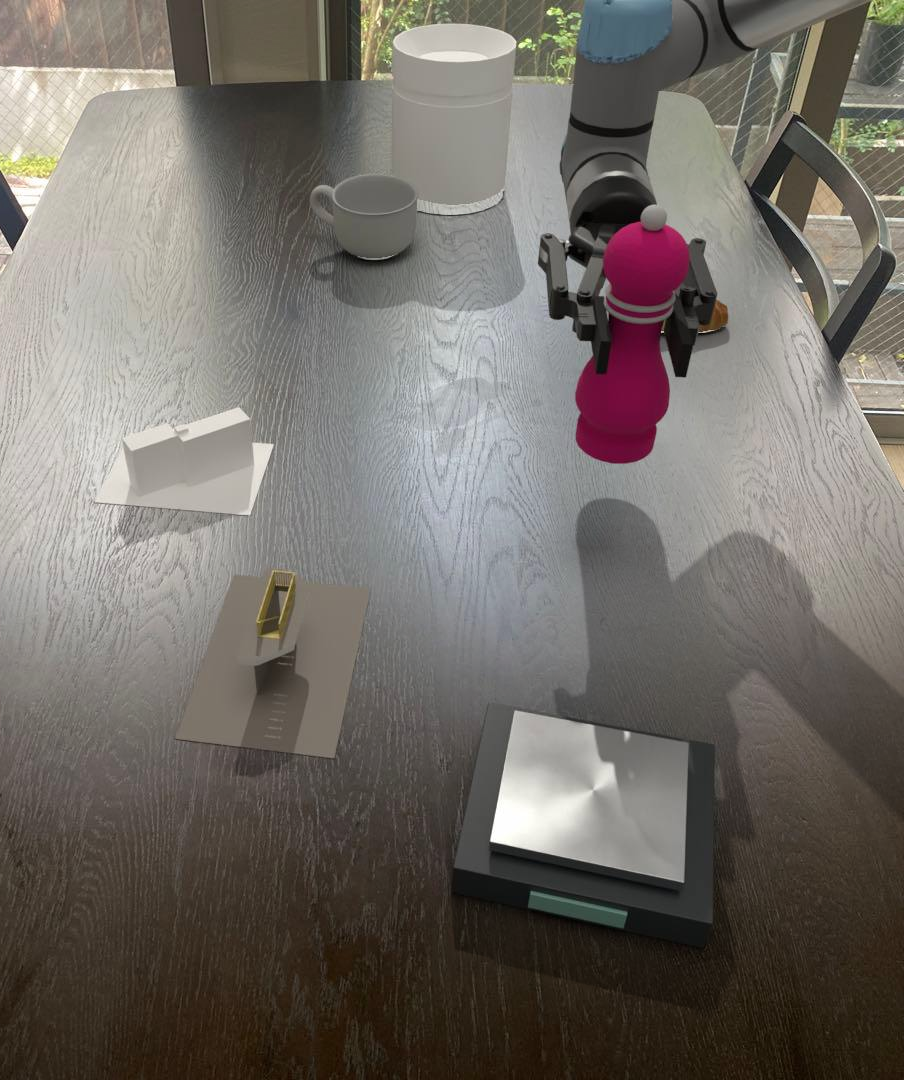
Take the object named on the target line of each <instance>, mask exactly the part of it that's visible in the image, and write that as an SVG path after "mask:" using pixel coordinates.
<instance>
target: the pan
mask: <svg viewBox="0 0 904 1080" xmlns="http://www.w3.org/2000/svg"><path fill="white" fill-rule="evenodd" d="M688 756H689V743H687V742H681V741H676V740H671V739H665V738H660V737H654V736H649V735H644V734H638V733H633V732H628V731H622V730H617V729H612V728H606V727H601V726H596V725H590V724H585V723H580V722H574V721H569V720H564V719H558V718H553V717H548V716H542V715H537V714H532V713H526V712H521V711H516V710H515V711H514V715H513V720H512V726H511V731H510V736H509V741H508V747H507V752H506V757H505V763H504V768H503V773H502V778H501V784H500V789H499V794H498V800H497V805H496V810H495V815H494V821H493V826H492V831H491V837H490V842H489V850H490V851H495V852H499V853H504V854H509V855H514V856H518V857H523V858H528V859H532V860H537V861H542V862H547V863H551V864H556V865H561V866H565V867H570V868H575V869H579V870H584V871H589V872H594V873H598V874H603V875H608V876H612V877H617V878H622V879H627V880H631V881H636V882H641V883H645V884H650V885H655V886H659V887H664V888H669V889H674V890H678V891H682V888H683V885H684V879H685V848H686V817H687V786H688Z"/></svg>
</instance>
